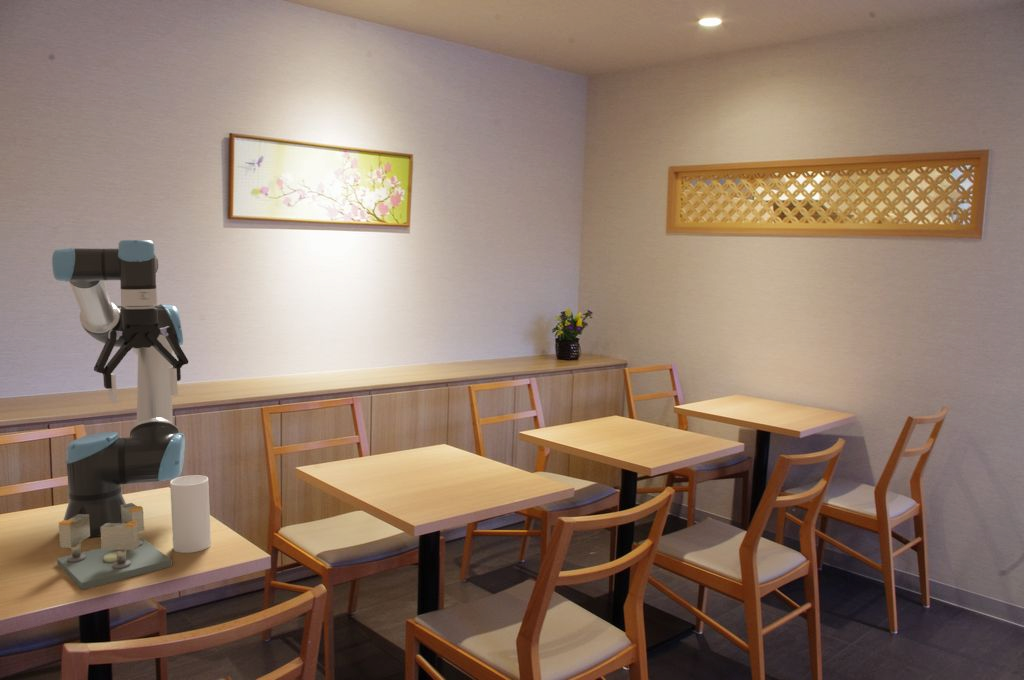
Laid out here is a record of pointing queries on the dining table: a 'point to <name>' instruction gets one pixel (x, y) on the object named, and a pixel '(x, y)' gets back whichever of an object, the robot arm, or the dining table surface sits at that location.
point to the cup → (190, 513)
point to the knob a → (74, 533)
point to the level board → (112, 565)
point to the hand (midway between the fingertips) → (144, 398)
